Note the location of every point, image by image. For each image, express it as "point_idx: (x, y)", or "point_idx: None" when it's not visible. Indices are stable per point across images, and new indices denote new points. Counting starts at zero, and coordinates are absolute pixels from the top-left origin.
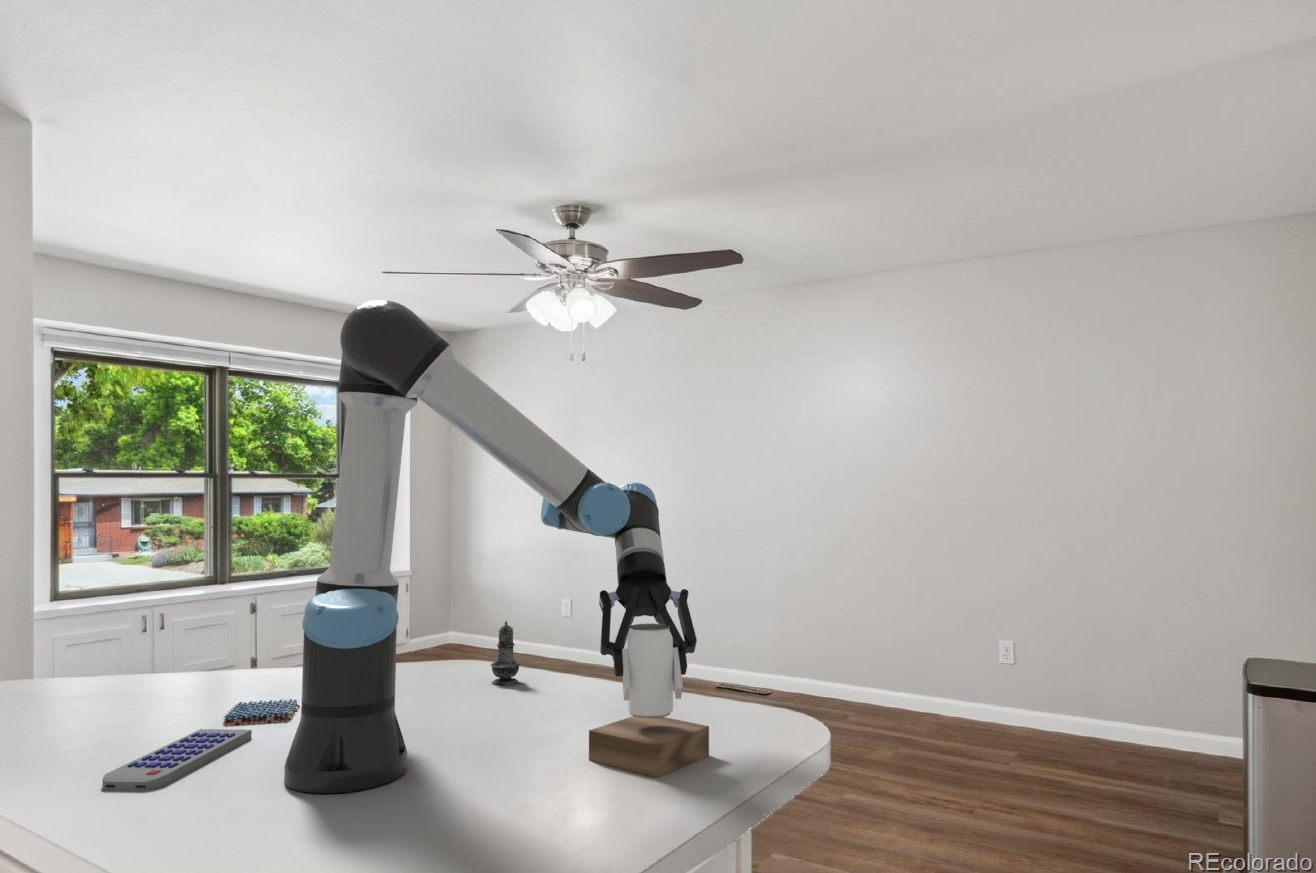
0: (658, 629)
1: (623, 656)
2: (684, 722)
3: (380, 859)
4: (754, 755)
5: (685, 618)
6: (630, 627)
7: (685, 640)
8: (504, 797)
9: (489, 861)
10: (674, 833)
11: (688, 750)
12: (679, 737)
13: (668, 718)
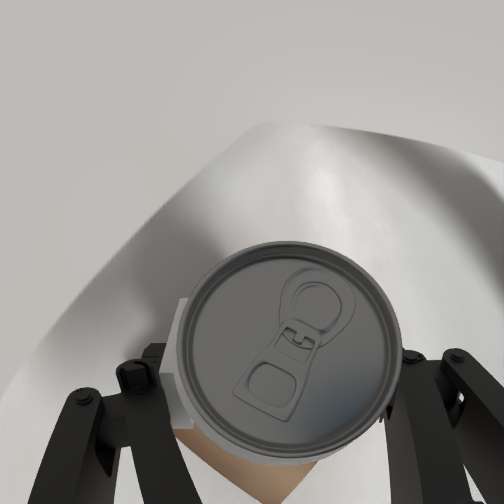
0: (249, 248)
1: None
2: (181, 432)
3: (438, 147)
4: None
5: (61, 495)
6: (398, 326)
7: (112, 418)
8: (421, 240)
9: (374, 133)
10: (237, 153)
11: None
12: None
13: (215, 465)
